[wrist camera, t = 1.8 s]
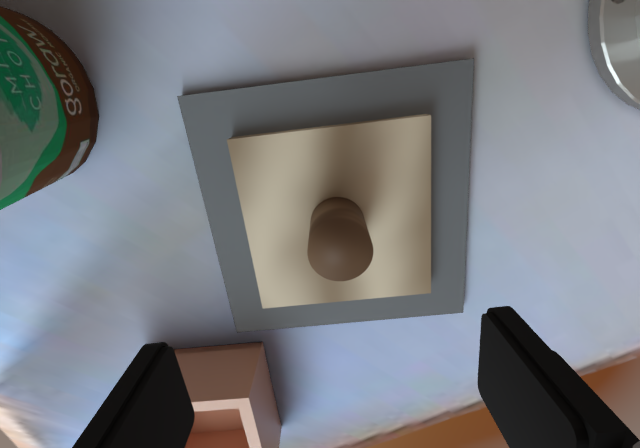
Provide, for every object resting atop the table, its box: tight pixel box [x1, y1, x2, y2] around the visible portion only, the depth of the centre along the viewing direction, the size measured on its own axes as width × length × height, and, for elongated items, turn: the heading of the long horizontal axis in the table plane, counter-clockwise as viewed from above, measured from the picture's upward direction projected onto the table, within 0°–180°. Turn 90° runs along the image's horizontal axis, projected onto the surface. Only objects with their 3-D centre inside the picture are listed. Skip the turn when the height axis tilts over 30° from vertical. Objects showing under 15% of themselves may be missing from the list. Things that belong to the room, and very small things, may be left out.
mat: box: [177, 58, 474, 332], centre depth 21 cm, size 16×16×1 cm
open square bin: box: [174, 342, 281, 448], centre depth 25 cm, size 9×9×5 cm
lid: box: [227, 114, 431, 309], centre depth 19 cm, size 11×11×5 cm
